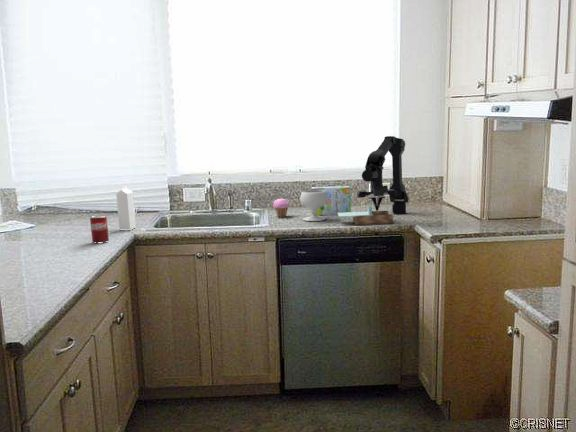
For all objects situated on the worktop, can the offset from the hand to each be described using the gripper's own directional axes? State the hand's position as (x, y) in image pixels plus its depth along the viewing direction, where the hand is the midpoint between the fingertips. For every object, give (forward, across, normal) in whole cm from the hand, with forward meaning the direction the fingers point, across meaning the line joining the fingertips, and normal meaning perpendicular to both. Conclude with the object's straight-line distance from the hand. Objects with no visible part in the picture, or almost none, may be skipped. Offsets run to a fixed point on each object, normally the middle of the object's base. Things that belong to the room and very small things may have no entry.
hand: (377, 210), depth 291 cm
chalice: (+6, -30, +14) cm, 34 cm away
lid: (+2, -11, 0) cm, 11 cm away
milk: (+6, -126, +6) cm, 126 cm away
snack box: (+6, -21, +29) cm, 36 cm away
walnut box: (+6, -2, 0) cm, 6 cm away
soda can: (+5, -130, -24) cm, 132 cm away
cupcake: (+6, -48, +26) cm, 55 cm away
